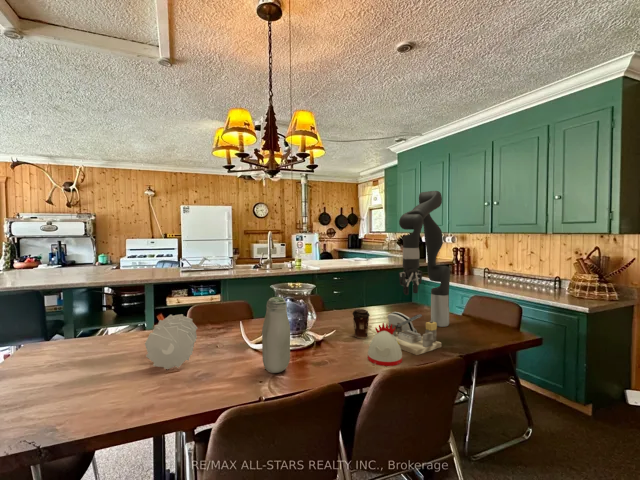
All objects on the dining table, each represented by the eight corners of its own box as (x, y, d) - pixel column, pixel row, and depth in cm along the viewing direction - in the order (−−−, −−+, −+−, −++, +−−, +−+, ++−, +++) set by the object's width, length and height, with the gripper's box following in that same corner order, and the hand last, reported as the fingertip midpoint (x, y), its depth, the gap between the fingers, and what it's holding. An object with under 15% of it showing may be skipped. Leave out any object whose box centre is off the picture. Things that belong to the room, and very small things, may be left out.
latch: (431, 327, 151) (431, 319, 151) (436, 329, 149) (436, 321, 149) (425, 329, 149) (425, 320, 149) (431, 330, 146) (431, 322, 146)
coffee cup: (350, 337, 160) (350, 311, 159) (354, 333, 167) (354, 308, 167) (367, 340, 156) (367, 313, 156) (371, 335, 164) (371, 309, 164)
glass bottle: (278, 379, 115) (278, 301, 114) (257, 372, 120) (256, 297, 120) (295, 369, 123) (295, 296, 123) (274, 363, 129) (274, 293, 128)
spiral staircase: (187, 358, 145) (180, 380, 121) (147, 344, 140) (132, 364, 116) (205, 319, 147) (202, 333, 123) (167, 305, 143) (156, 316, 119)
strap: (398, 327, 159) (397, 325, 159) (422, 316, 147) (421, 313, 147) (393, 329, 157) (392, 326, 157) (417, 317, 145) (416, 314, 145)
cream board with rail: (403, 334, 165) (403, 319, 165) (441, 346, 147) (441, 330, 147) (379, 340, 155) (379, 325, 155) (416, 355, 137) (417, 337, 137)
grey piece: (417, 332, 168) (412, 315, 167) (410, 336, 166) (405, 319, 165) (396, 324, 183) (391, 308, 181) (389, 328, 181) (385, 312, 179)
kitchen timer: (400, 368, 124) (400, 329, 124) (364, 363, 129) (364, 325, 129) (403, 355, 138) (404, 320, 137) (371, 351, 142) (371, 317, 142)
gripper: (414, 256, 157) (414, 291, 157) (394, 257, 149) (393, 294, 149) (427, 257, 151) (427, 293, 151) (406, 258, 142) (406, 297, 143)
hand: (410, 293), depth 150 cm, fingers open, 5 cm apart
